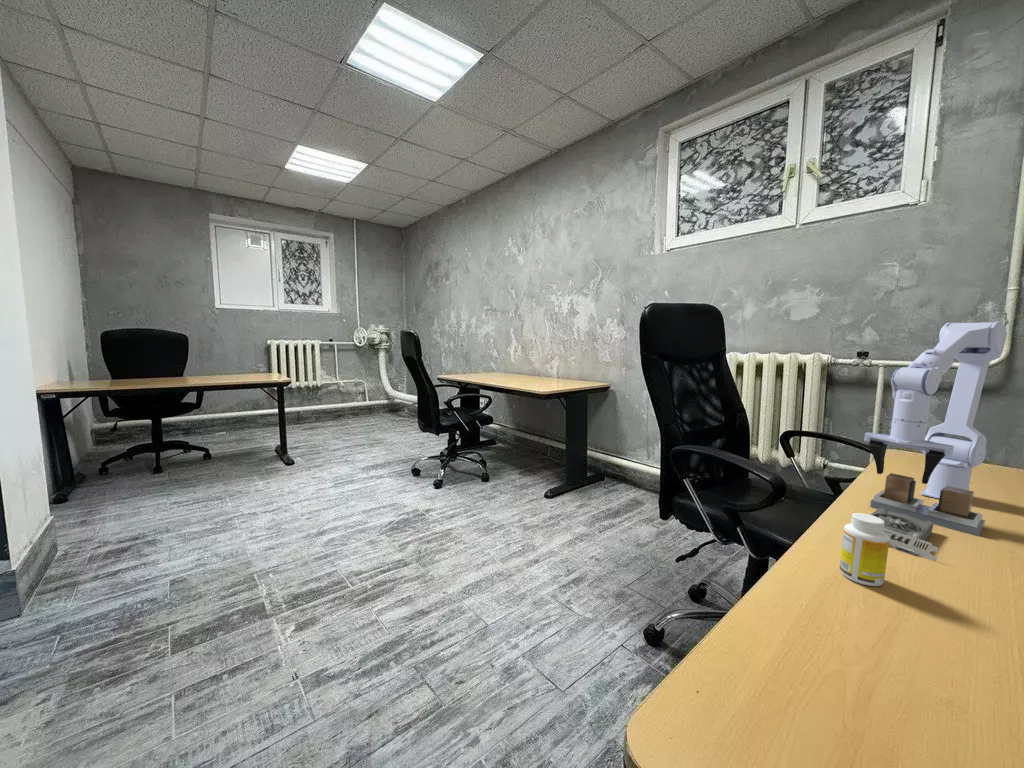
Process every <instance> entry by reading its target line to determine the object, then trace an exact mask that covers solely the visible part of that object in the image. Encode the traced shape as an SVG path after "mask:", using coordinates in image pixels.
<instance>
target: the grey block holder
mask: <svg viewBox="0 0 1024 768" xmlns="http://www.w3.org/2000/svg"><path fill="white" fill-rule="evenodd" d="M884 491H885V489H884V490H883V489H882V490H881V491H880V492H878V493H877V494H874V496H873V499H871V500H870V506H869V507H870V508H872V509H873V508H874V509H876V510H877V509H879V508H885V509H886V511H890V512H895V513H899V514H904V515H908V516H910V517H913V518H916V519H919V520H921V521H924V522H927V521H930V522H933V523H934V524H933V525H936V526H939V527H944V528H948V529H951V530H955V531H959V532H962V533H965V534H969V535H974V536H976V537H980V535H981V533H982V532H983V529H984V528H985V523H986V520H985V519H983V517H984V514H982V513H980V512H976V511H972V507H973V500H974V496H975V495H974V494H975V491H972V490H964V489H959V488H955V487H950V486H946V487H945V488H943V489H942V490H941V492H940V498H939V499H938V502H934V503H933V504H932V505H931V506H929V505H925V504H924V501H925V499H921V498H918V497H914V498H913V500H912V501H911V503H910V504H907V503H903V502H899V501H895V500H891V499H887V498H884Z"/></svg>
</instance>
